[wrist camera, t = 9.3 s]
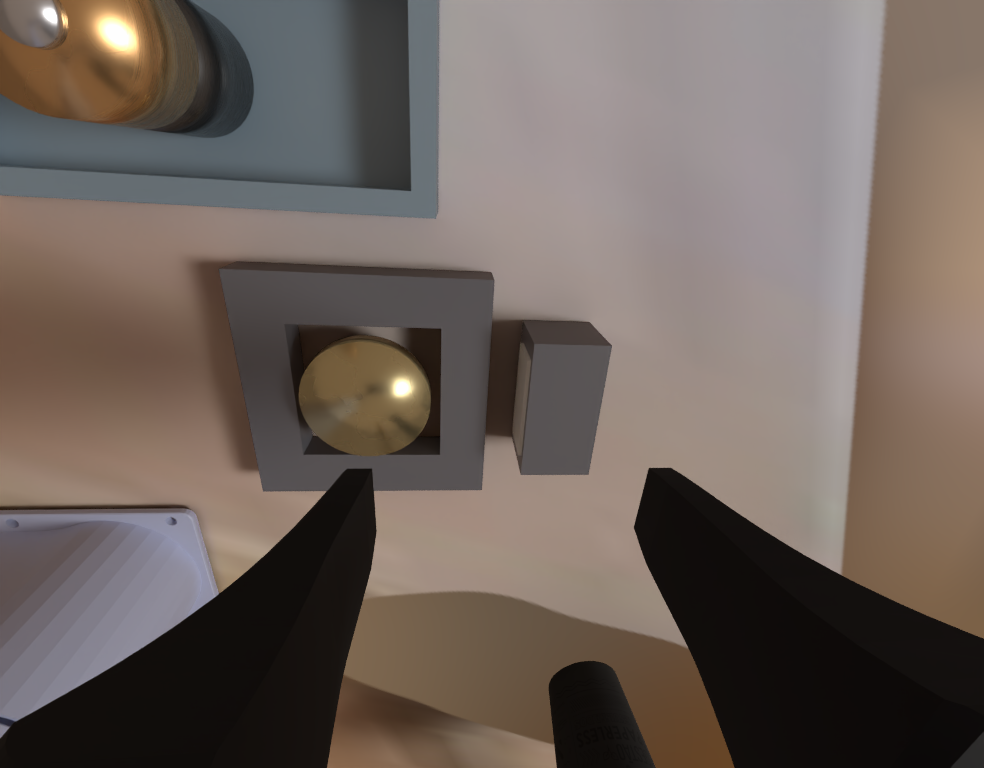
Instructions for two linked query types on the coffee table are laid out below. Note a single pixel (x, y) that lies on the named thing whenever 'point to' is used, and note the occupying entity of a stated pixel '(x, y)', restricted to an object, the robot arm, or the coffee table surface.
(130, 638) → the robot arm
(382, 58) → the slate trough
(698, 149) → the coffee table surface
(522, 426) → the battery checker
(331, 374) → the disc
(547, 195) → the coffee table surface
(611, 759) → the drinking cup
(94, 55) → the battery cell
